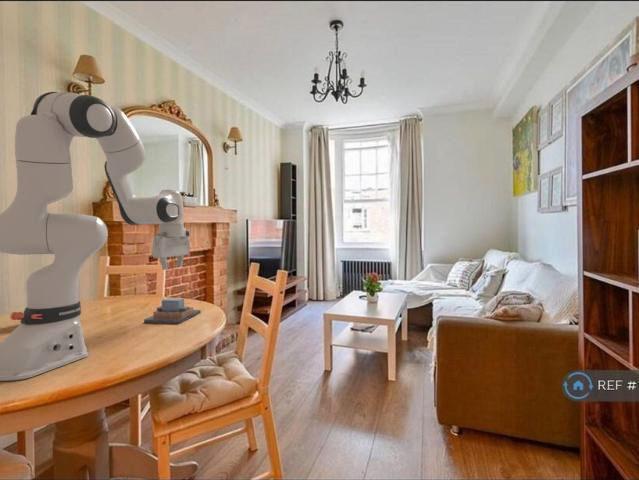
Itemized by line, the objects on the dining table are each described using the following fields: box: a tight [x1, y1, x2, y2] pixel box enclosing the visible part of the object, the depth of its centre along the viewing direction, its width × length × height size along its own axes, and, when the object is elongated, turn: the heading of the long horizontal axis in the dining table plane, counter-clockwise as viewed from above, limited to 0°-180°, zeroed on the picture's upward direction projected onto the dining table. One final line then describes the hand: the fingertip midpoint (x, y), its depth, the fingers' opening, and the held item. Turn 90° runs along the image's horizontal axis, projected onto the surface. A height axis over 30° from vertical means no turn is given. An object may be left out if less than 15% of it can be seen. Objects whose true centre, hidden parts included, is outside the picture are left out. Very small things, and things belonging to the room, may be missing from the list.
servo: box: [156, 297, 190, 312], centre depth 131 cm, size 4×12×6 cm, turn 82°
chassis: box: [143, 306, 201, 325], centre depth 131 cm, size 16×14×3 cm
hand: (172, 268), depth 131 cm, fingers open, 8 cm apart
